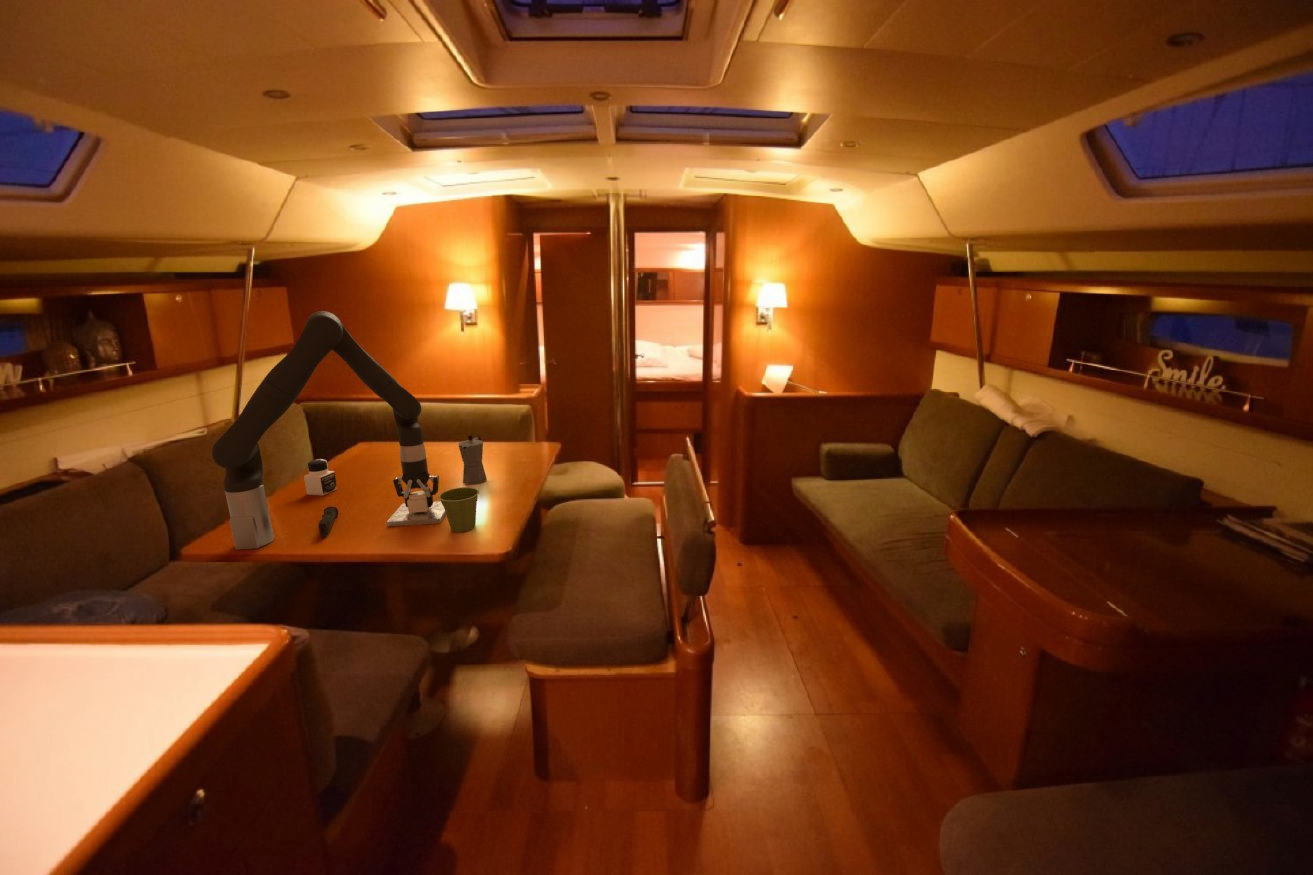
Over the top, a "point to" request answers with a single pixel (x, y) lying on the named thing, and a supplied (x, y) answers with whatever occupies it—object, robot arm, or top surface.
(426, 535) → the top surface
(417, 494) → the knob
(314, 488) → the medicine bottle
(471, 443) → the coffeepot
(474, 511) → the plant pot
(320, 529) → the hand tool
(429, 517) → the block
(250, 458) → the robot arm
